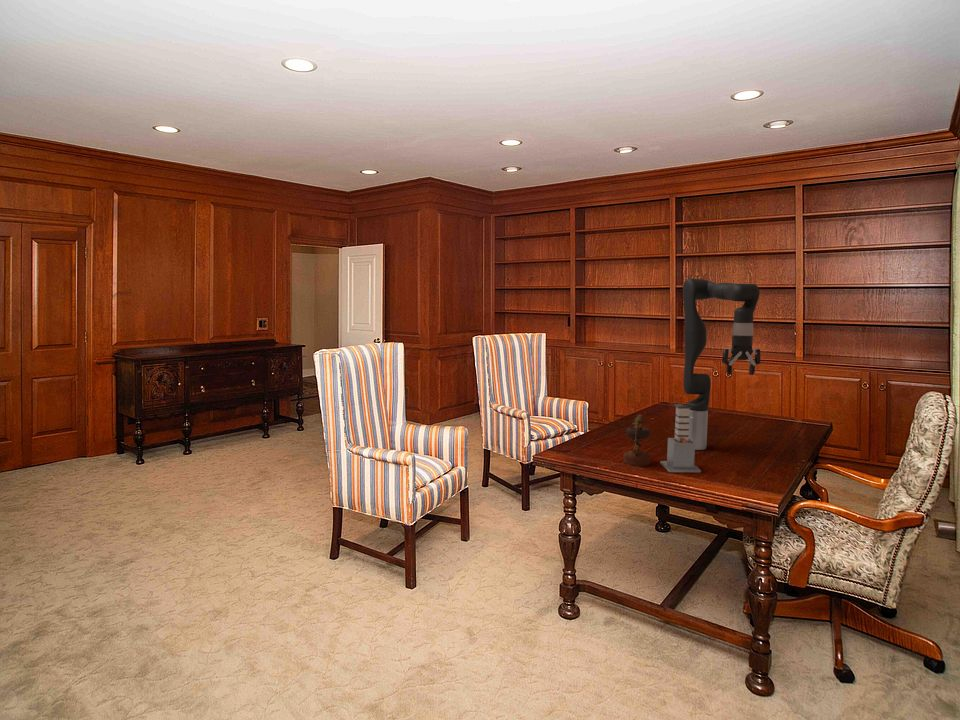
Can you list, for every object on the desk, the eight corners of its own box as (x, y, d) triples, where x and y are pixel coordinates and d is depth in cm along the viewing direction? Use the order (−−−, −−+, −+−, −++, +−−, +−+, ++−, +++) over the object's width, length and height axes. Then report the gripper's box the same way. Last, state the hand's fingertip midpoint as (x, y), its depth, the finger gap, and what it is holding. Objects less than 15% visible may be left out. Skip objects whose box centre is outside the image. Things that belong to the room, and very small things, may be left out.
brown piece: (652, 467, 233) (650, 417, 231) (624, 468, 235) (621, 418, 233) (650, 457, 248) (647, 410, 246) (623, 458, 250) (620, 411, 248)
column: (672, 450, 235) (674, 404, 233) (685, 450, 235) (687, 404, 233) (676, 454, 230) (678, 406, 228) (689, 454, 230) (691, 406, 228)
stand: (660, 463, 239) (661, 433, 238) (690, 463, 239) (691, 434, 238) (669, 472, 227) (670, 441, 226) (700, 472, 227) (702, 441, 226)
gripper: (756, 333, 239) (754, 373, 241) (720, 333, 239) (718, 373, 241) (765, 335, 231) (762, 376, 233) (728, 334, 232) (726, 375, 233)
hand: (740, 374), depth 237 cm, fingers open, 8 cm apart
